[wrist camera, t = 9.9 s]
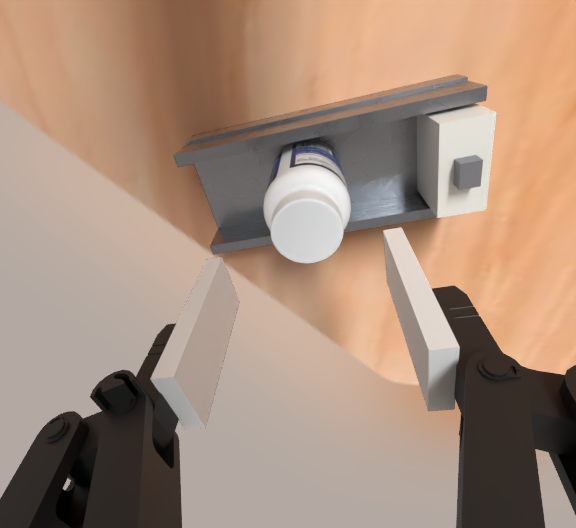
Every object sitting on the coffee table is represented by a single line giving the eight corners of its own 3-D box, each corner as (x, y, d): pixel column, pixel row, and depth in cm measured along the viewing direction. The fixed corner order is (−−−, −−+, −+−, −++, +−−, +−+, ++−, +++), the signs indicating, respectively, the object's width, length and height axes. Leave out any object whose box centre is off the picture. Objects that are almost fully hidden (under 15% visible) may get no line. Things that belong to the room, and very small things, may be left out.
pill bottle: (298, 217, 28) (293, 288, 20) (258, 165, 26) (235, 222, 18) (355, 182, 26) (375, 245, 18) (317, 122, 24) (321, 164, 16)
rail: (193, 135, 27) (172, 153, 23) (456, 74, 24) (487, 81, 19) (226, 227, 31) (214, 256, 27) (451, 187, 28) (475, 213, 24)
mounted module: (416, 108, 23) (445, 127, 18) (462, 98, 23) (505, 115, 18) (417, 189, 26) (442, 225, 21) (457, 182, 26) (492, 216, 21)
